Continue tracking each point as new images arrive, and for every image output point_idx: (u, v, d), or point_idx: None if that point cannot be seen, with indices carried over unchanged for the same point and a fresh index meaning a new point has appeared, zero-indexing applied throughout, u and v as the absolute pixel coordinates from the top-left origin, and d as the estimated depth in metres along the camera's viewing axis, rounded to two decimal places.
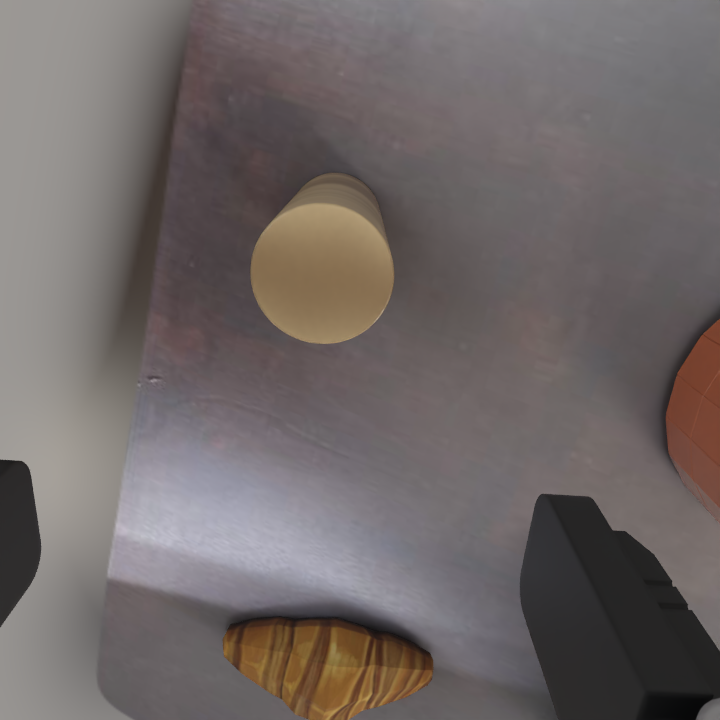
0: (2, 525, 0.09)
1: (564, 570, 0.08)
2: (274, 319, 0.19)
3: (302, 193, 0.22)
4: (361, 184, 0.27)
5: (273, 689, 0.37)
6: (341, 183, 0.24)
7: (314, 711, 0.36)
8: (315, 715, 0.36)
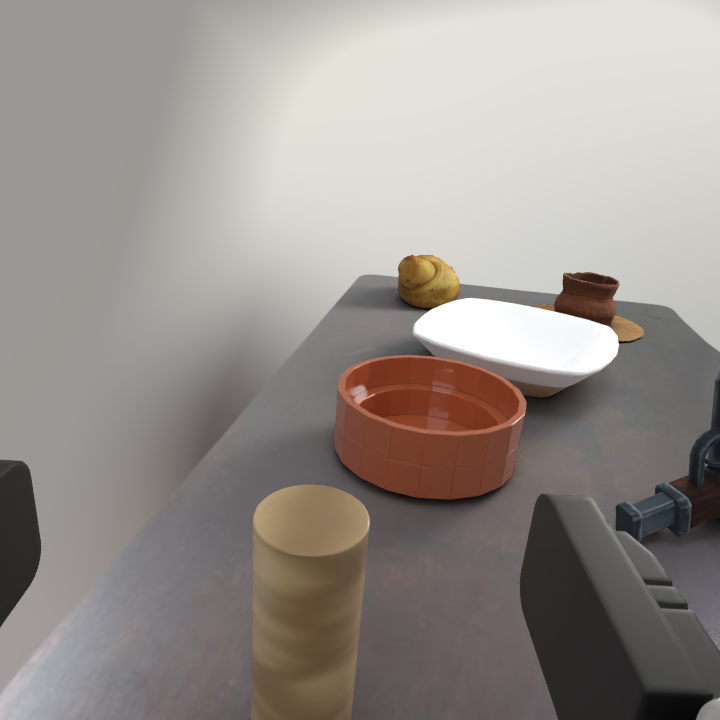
0: (2, 525, 0.09)
1: (564, 570, 0.08)
2: (349, 543, 0.22)
3: (255, 626, 0.23)
4: None
5: None
6: None
7: None
8: None
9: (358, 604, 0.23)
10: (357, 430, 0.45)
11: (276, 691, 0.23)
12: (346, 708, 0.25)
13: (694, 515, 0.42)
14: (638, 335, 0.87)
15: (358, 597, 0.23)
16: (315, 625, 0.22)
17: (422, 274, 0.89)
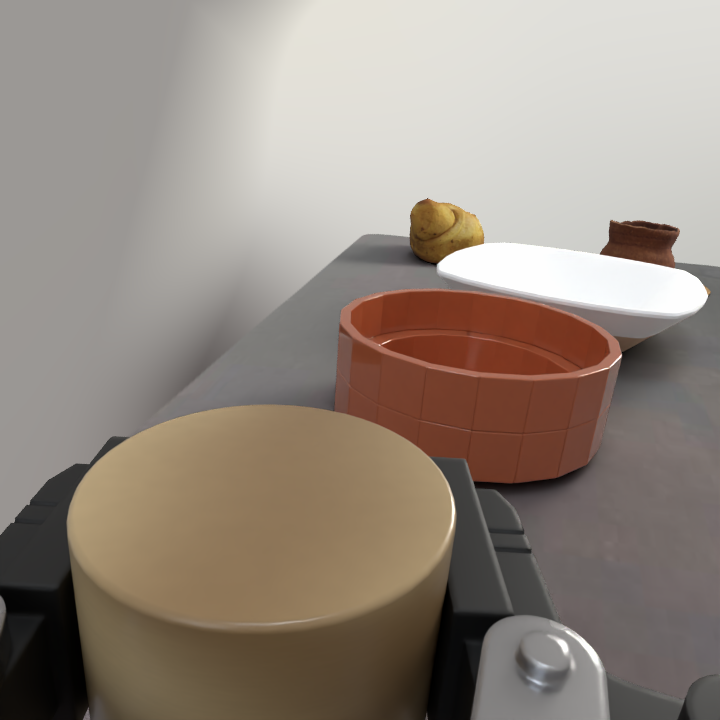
0: None
1: None
2: (401, 574, 0.06)
3: None
4: None
5: None
6: None
7: None
8: None
9: None
10: (371, 378, 0.30)
11: None
12: None
13: None
14: None
15: None
16: None
17: (440, 221, 0.73)
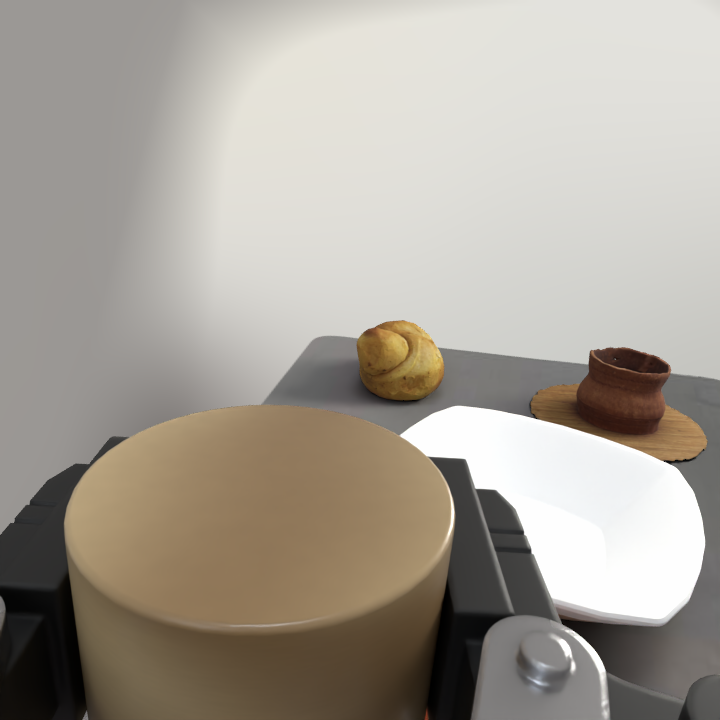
0: None
1: None
2: (399, 575, 0.06)
3: None
4: None
5: None
6: None
7: None
8: None
9: None
10: None
11: None
12: None
13: None
14: (699, 445, 0.60)
15: None
16: None
17: (390, 356, 0.62)
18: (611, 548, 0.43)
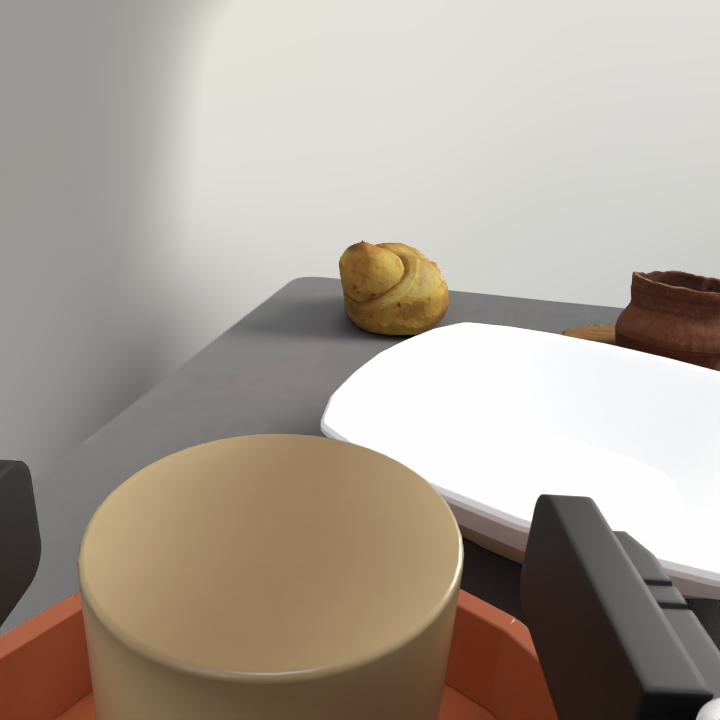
0: (2, 525, 0.09)
1: (564, 570, 0.08)
2: (409, 618, 0.06)
3: None
4: None
5: None
6: None
7: None
8: None
9: None
10: None
11: None
12: None
13: None
14: None
15: None
16: None
17: (381, 275, 0.49)
18: (690, 500, 0.30)
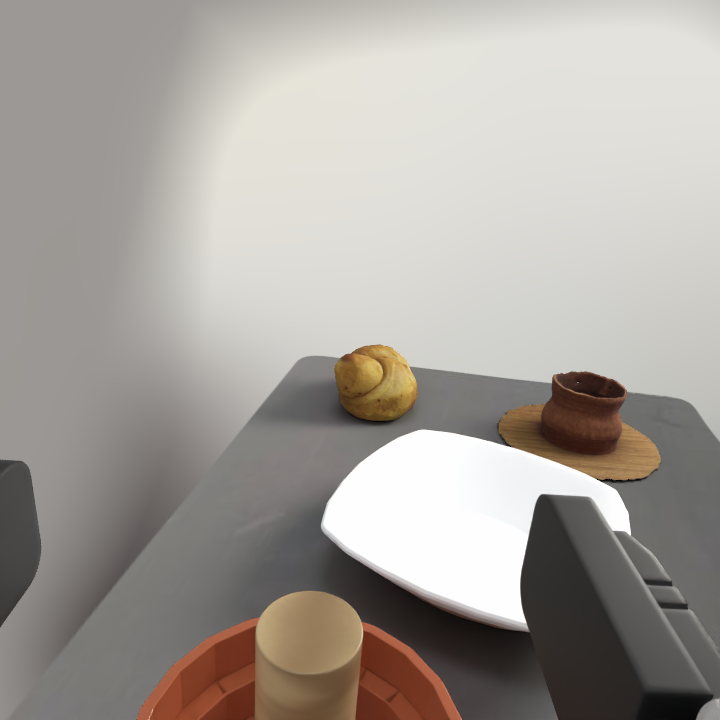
0: (2, 525, 0.09)
1: (564, 570, 0.08)
2: (344, 659, 0.23)
3: None
4: None
5: None
6: None
7: None
8: None
9: (352, 708, 0.25)
10: None
11: None
12: None
13: None
14: (653, 464, 0.65)
15: (352, 702, 0.25)
16: None
17: (365, 380, 0.67)
18: None
